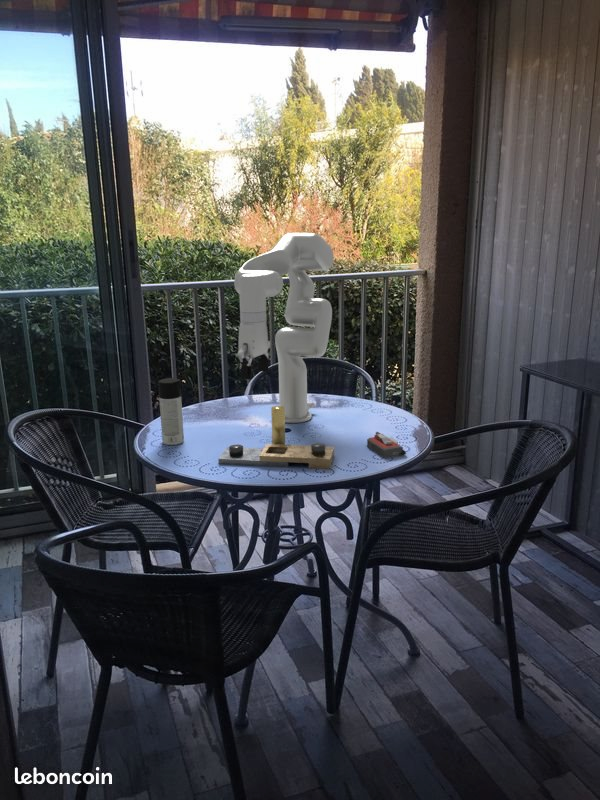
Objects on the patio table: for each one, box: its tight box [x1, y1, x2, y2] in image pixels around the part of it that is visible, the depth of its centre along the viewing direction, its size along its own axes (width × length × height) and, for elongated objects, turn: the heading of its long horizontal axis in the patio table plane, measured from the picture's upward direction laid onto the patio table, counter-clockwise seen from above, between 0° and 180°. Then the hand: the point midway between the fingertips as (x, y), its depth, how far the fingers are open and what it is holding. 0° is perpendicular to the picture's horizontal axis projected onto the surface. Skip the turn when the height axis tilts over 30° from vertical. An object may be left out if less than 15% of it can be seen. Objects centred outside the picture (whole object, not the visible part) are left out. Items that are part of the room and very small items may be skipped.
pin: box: [270, 405, 286, 445], centre depth 203 cm, size 4×4×12 cm
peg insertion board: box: [218, 442, 335, 470], centre depth 191 cm, size 10×32×5 cm, turn 81°
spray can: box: [157, 377, 185, 446], centre depth 205 cm, size 7×7×20 cm
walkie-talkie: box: [366, 431, 407, 459], centre depth 201 cm, size 9×4×20 cm
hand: (255, 375), depth 196 cm, fingers open, 9 cm apart
